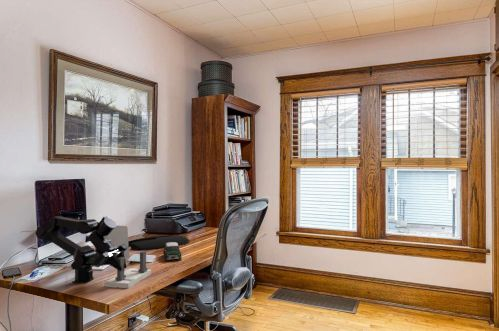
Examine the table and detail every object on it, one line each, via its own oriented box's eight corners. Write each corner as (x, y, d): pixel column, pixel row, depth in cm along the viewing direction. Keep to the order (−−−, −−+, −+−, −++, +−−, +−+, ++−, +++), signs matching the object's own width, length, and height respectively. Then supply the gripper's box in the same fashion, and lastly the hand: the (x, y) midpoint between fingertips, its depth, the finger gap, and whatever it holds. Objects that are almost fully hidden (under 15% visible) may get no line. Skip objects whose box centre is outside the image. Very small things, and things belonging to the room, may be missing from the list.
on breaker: (138, 271, 153) (138, 252, 153) (142, 269, 157) (142, 250, 157) (143, 272, 153) (143, 252, 153) (147, 269, 156) (147, 250, 156)
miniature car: (165, 262, 178) (165, 248, 178) (163, 254, 195) (163, 241, 195) (181, 261, 180) (181, 246, 180) (178, 253, 198) (178, 240, 198)
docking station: (195, 244, 223) (195, 237, 223) (134, 252, 200) (134, 244, 200) (181, 238, 243) (181, 231, 243) (124, 245, 221) (124, 237, 221)
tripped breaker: (115, 279, 142) (115, 258, 142) (120, 277, 146) (120, 256, 146) (121, 280, 142) (121, 259, 142) (125, 277, 145) (126, 257, 145)
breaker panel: (104, 286, 141) (104, 281, 141) (129, 272, 160) (129, 268, 160) (128, 288, 139) (128, 283, 139) (150, 273, 158) (150, 269, 158)
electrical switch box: (118, 259, 193) (116, 224, 195) (129, 260, 182) (127, 223, 185) (92, 264, 183) (90, 227, 185) (102, 265, 172) (100, 226, 174)
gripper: (102, 250, 156) (123, 274, 154) (74, 260, 137) (98, 289, 135) (117, 234, 154) (139, 258, 152) (91, 242, 136) (116, 270, 134)
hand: (123, 269), depth 143 cm, fingers closed on tripped breaker, 3 cm apart
